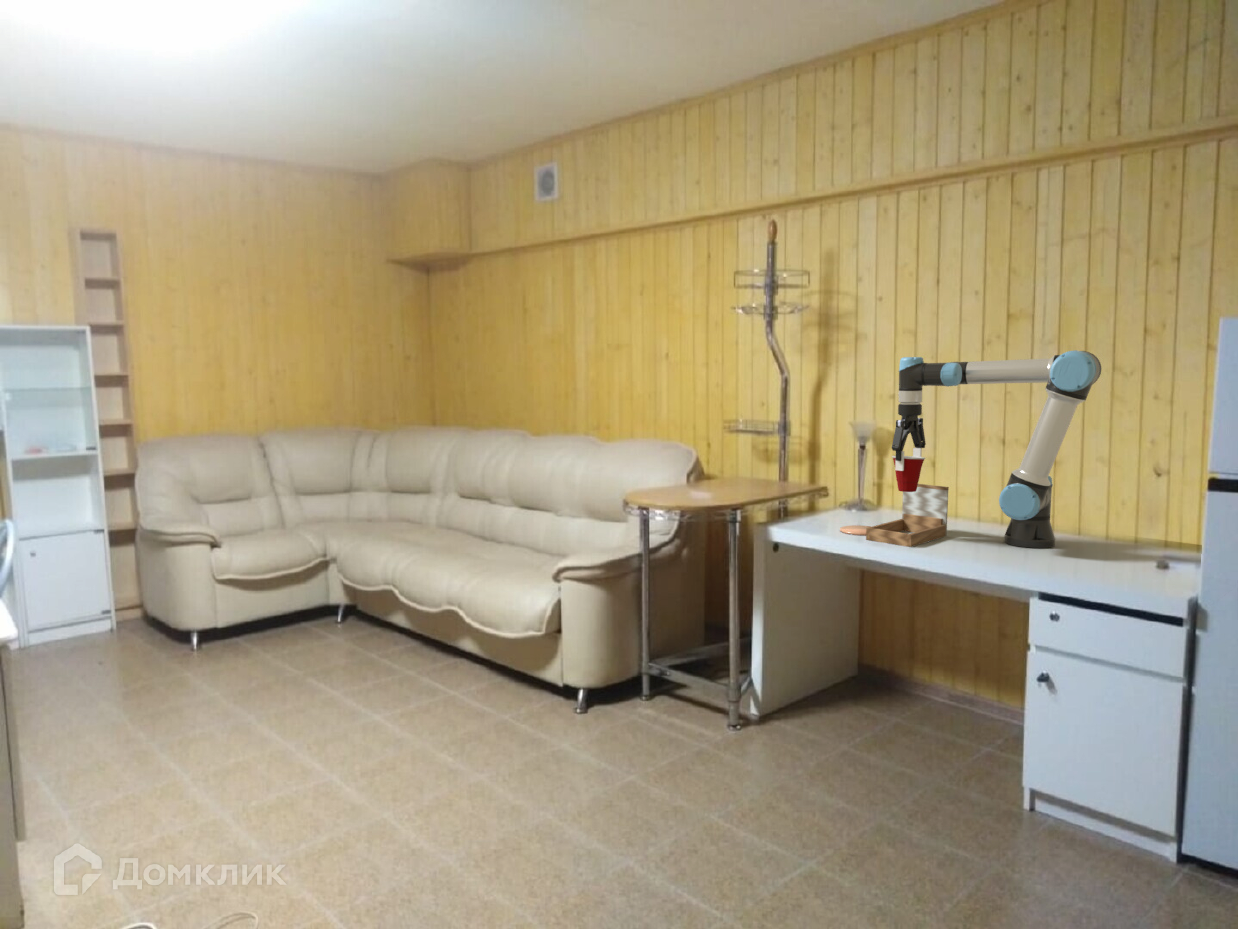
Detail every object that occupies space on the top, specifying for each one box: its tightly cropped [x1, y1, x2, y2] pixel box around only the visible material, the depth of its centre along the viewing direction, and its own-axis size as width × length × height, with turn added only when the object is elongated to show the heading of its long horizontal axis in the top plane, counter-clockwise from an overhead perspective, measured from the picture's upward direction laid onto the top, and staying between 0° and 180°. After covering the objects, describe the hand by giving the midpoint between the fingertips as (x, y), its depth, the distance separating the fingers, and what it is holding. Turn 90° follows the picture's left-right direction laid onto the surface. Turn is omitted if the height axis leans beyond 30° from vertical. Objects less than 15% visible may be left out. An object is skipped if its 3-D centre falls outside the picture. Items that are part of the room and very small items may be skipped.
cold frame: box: [865, 483, 949, 548], centre depth 300 cm, size 16×24×17 cm
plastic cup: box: [891, 455, 926, 493], centre depth 298 cm, size 11×11×12 cm
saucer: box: [839, 524, 872, 537], centre depth 312 cm, size 14×14×1 cm
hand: (908, 468), depth 297 cm, fingers closed on plastic cup, 11 cm apart
